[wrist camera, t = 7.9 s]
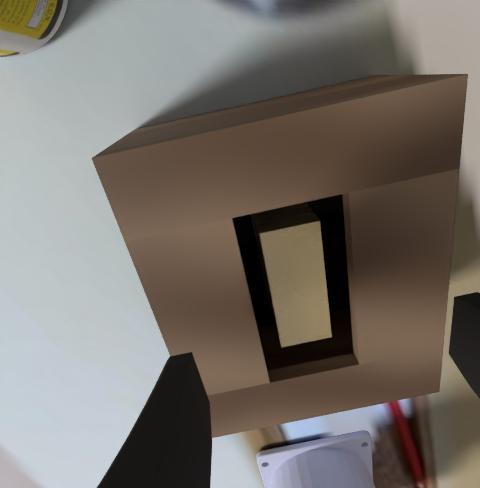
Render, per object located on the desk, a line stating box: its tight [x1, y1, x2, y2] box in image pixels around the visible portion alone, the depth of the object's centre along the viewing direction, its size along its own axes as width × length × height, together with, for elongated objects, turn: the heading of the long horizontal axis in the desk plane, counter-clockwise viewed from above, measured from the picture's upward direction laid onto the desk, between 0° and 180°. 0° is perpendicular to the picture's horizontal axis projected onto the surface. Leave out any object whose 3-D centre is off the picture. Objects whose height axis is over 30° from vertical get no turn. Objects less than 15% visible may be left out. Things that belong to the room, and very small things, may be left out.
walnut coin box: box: [92, 74, 468, 438], centre depth 14 cm, size 12×10×6 cm
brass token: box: [251, 202, 332, 347], centre depth 14 cm, size 5×2×5 cm, turn 11°
